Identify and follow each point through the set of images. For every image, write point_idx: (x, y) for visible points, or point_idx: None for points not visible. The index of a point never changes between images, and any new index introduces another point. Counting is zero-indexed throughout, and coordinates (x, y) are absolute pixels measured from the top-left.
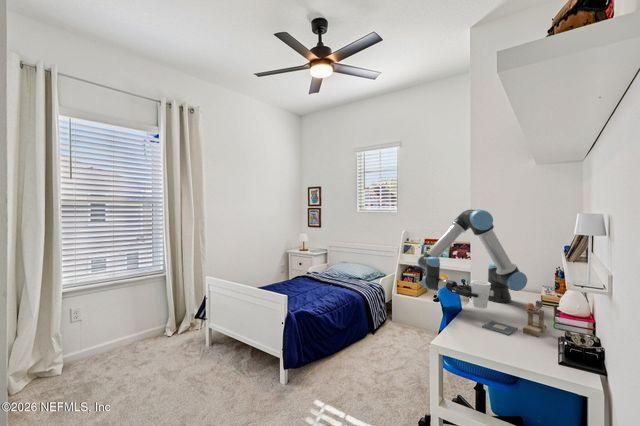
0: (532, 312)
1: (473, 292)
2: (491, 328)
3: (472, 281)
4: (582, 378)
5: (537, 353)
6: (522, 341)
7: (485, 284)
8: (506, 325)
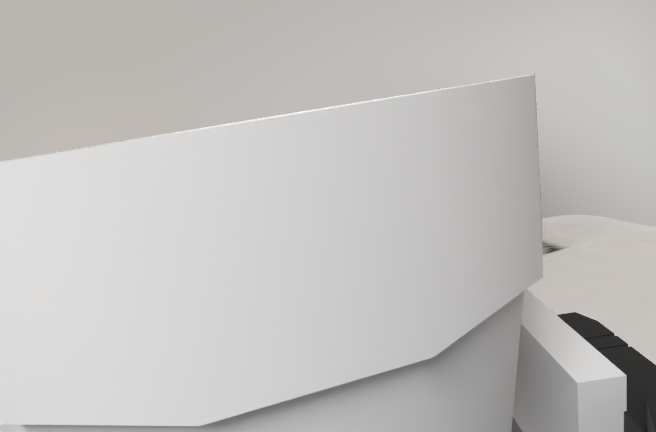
0: None
1: (597, 358)
2: None
3: (240, 137)
4: (570, 223)
5: (564, 279)
6: None
7: (355, 103)
8: None
